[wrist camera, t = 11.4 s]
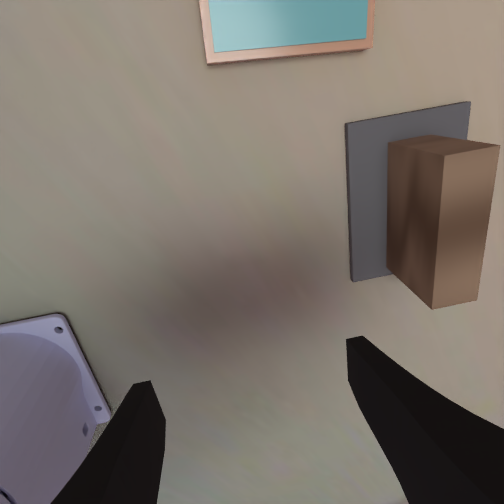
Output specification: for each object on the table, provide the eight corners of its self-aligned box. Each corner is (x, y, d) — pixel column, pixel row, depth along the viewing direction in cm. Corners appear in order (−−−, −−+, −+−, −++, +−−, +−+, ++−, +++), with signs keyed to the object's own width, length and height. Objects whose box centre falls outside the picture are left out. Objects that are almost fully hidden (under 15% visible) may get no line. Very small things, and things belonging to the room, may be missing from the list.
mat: (449, 259, 23) (453, 261, 23) (350, 279, 23) (353, 282, 23) (465, 101, 19) (470, 101, 19) (344, 123, 19) (347, 124, 18)
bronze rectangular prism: (422, 259, 22) (477, 300, 18) (386, 267, 22) (431, 309, 18) (430, 134, 19) (500, 145, 15) (387, 142, 19) (444, 155, 14)
